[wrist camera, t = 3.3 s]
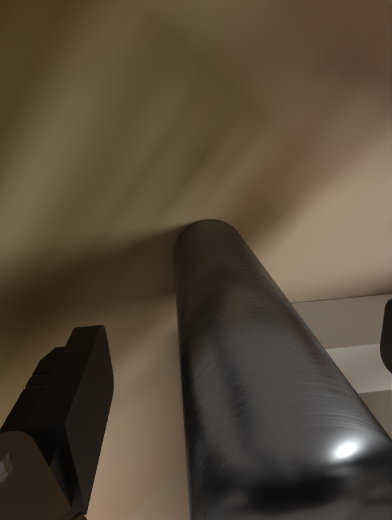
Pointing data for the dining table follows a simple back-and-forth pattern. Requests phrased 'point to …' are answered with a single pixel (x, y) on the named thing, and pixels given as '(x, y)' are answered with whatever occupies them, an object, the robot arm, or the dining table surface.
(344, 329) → the socket block
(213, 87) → the dining table surface
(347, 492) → the peg
